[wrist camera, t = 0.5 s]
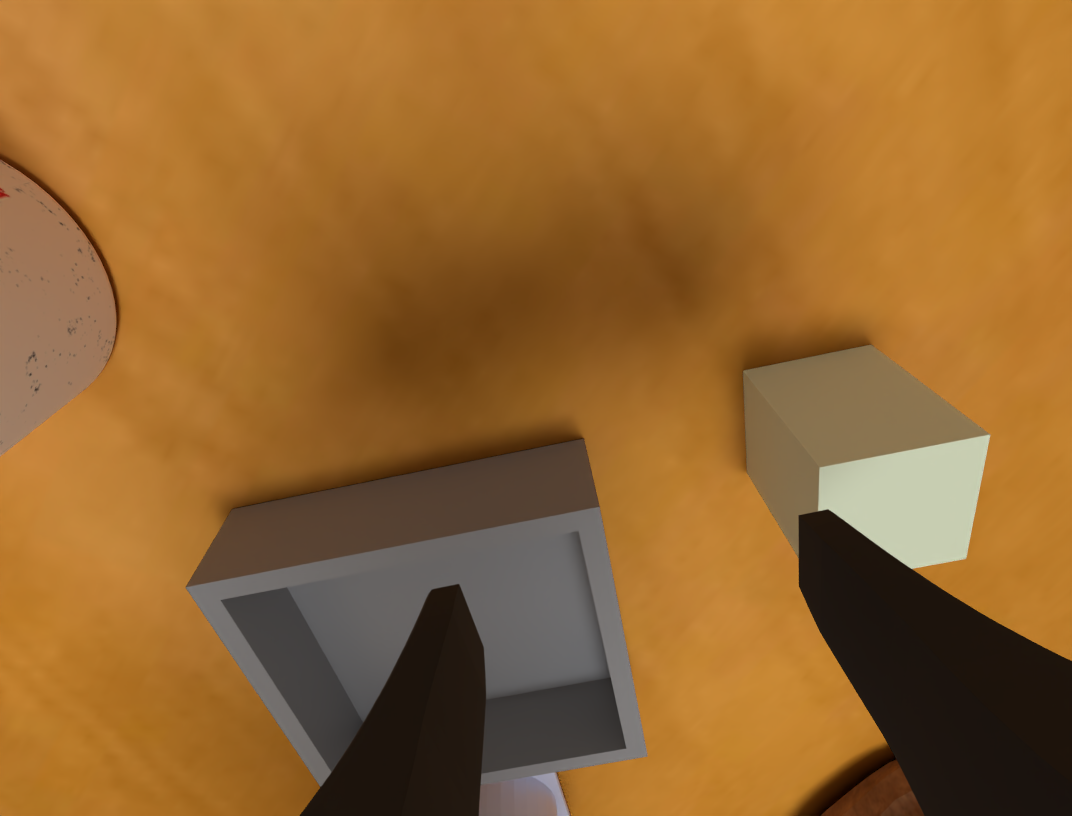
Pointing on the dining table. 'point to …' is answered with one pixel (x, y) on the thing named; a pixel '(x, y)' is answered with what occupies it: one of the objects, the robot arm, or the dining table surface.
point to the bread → (879, 796)
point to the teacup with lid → (46, 308)
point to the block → (864, 452)
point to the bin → (400, 592)
